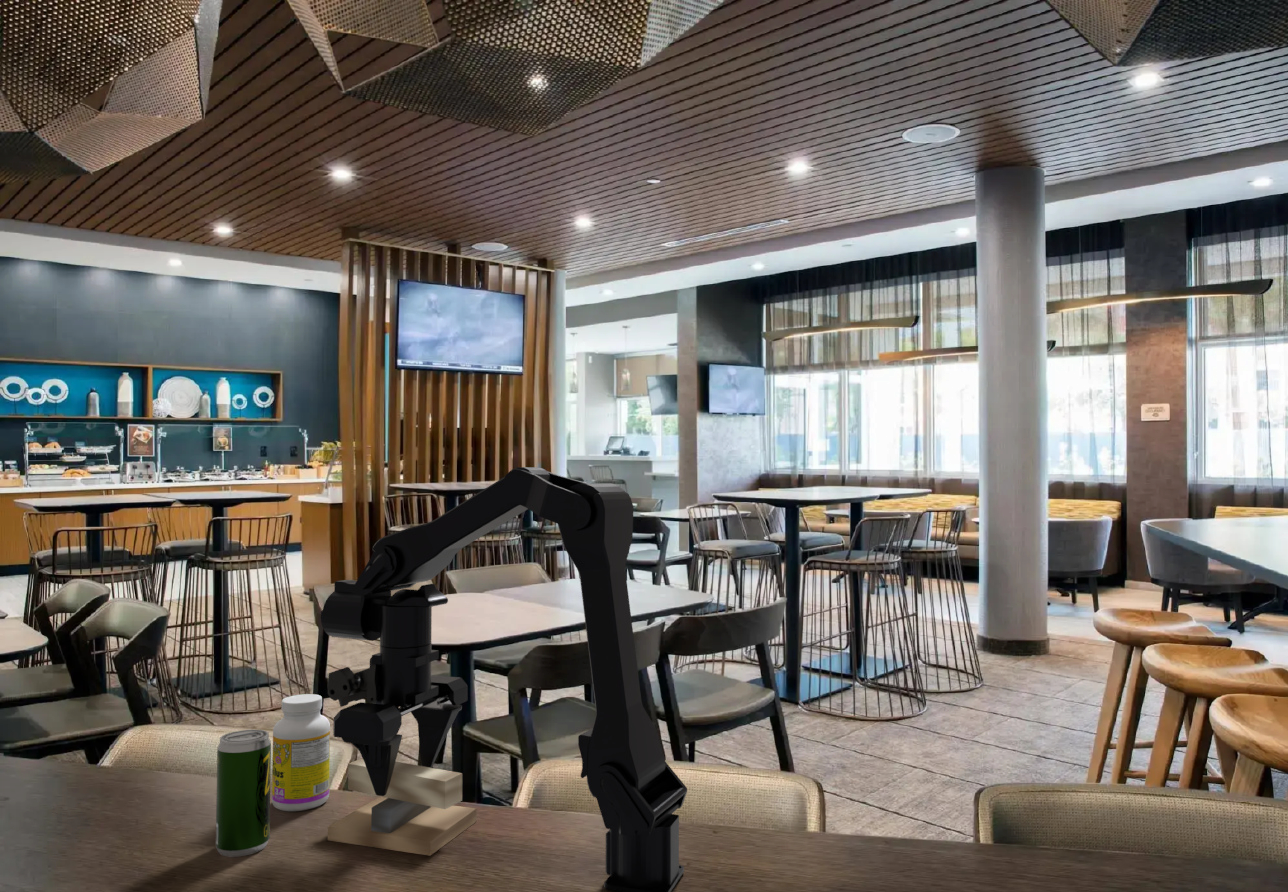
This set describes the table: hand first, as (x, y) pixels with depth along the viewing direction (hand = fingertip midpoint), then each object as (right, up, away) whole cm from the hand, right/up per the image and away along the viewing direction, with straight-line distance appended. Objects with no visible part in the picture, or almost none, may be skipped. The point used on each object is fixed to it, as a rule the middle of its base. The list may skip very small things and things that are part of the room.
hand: (404, 781), depth 102 cm
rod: (0, -2, 0) cm, 2 cm away
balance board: (0, -6, 0) cm, 6 cm away
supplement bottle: (-15, -6, +8) cm, 18 cm away
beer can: (-16, -6, -5) cm, 18 cm away
